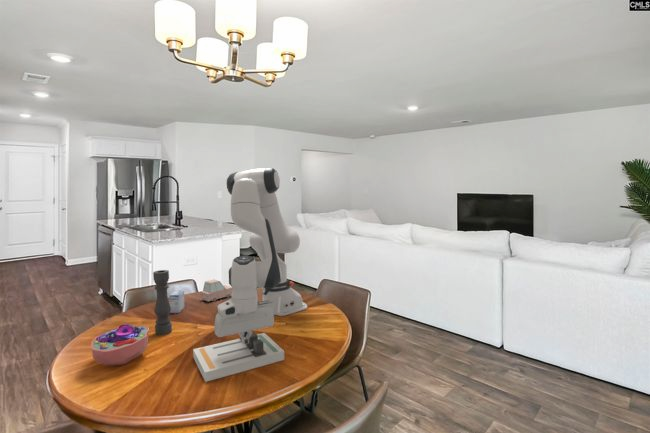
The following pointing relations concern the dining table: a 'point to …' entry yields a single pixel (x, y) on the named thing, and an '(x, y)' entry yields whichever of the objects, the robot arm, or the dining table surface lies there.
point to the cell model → (120, 344)
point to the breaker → (258, 348)
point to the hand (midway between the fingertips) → (245, 343)
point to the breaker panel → (234, 357)
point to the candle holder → (162, 303)
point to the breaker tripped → (251, 339)
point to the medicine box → (176, 301)
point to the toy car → (215, 291)
